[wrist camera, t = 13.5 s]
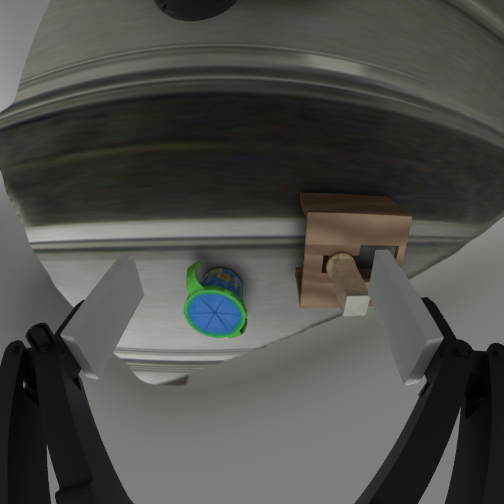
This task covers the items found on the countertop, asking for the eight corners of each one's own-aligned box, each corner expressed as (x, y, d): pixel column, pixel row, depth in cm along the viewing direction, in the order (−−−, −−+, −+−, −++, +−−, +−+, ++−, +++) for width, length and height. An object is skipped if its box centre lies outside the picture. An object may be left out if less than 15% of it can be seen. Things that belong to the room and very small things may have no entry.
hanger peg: (318, 230, 46) (340, 289, 31) (346, 230, 46) (380, 288, 31) (315, 257, 48) (333, 322, 33) (343, 257, 48) (371, 320, 33)
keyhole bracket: (299, 192, 47) (307, 212, 38) (387, 196, 46) (412, 216, 37) (295, 274, 54) (300, 307, 45) (374, 274, 53) (390, 304, 44)
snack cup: (179, 260, 54) (163, 290, 45) (227, 239, 51) (218, 268, 42) (218, 318, 60) (210, 353, 51) (263, 303, 57) (262, 338, 48)
